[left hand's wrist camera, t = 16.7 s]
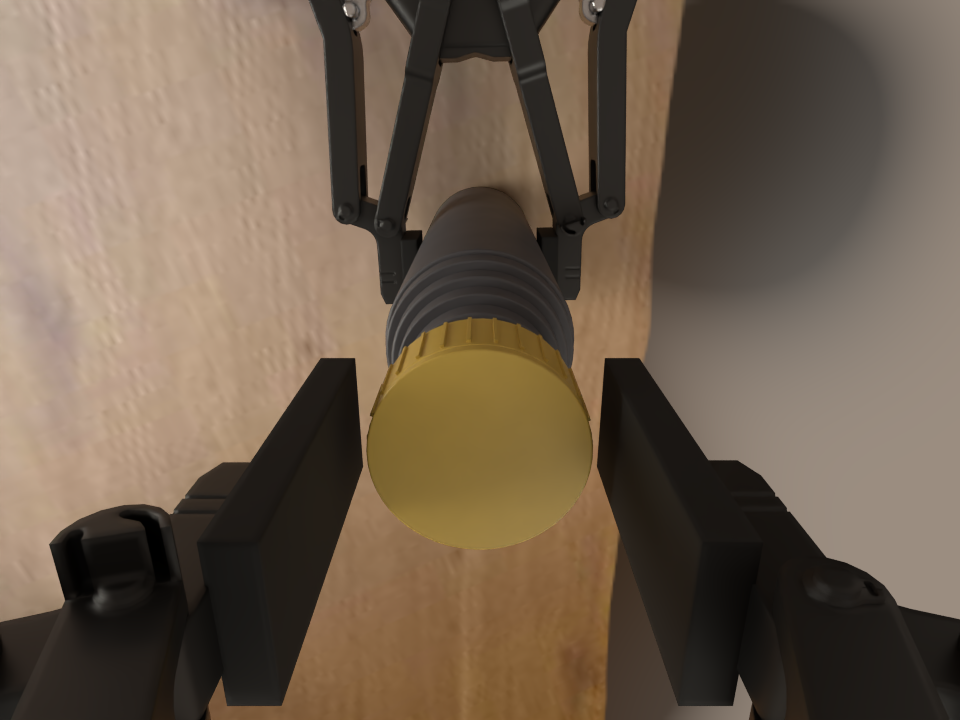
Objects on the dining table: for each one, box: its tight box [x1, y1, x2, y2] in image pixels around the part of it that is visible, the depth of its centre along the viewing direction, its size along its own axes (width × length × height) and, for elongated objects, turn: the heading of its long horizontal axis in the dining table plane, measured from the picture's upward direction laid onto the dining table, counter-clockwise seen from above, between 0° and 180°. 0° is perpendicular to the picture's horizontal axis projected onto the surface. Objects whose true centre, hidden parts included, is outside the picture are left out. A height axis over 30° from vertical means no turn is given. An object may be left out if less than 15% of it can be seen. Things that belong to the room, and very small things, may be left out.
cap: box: [366, 317, 593, 550], centre depth 13 cm, size 5×5×2 cm
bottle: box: [386, 187, 574, 369], centre depth 25 cm, size 6×6×25 cm
